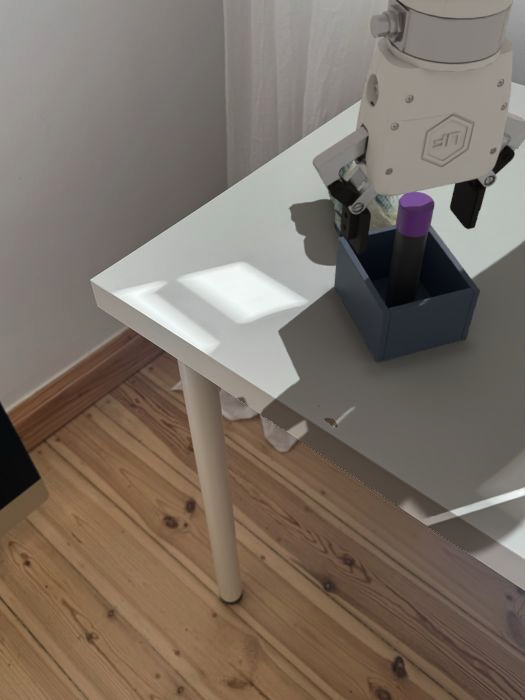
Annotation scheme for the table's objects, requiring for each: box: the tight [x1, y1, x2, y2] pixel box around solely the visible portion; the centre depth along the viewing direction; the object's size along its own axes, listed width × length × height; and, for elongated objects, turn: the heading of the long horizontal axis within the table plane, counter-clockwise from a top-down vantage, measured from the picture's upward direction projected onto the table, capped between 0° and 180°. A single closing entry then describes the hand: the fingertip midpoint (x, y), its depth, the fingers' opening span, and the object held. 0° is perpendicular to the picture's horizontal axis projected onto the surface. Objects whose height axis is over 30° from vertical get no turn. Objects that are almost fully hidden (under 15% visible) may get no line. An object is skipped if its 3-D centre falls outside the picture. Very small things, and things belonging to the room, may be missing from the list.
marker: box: [385, 191, 436, 308], centre depth 63 cm, size 3×3×12 cm
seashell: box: [327, 160, 401, 237], centre depth 75 cm, size 6×8×12 cm
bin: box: [333, 225, 481, 364], centre depth 66 cm, size 9×10×7 cm
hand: (408, 230), depth 60 cm, fingers open, 9 cm apart
